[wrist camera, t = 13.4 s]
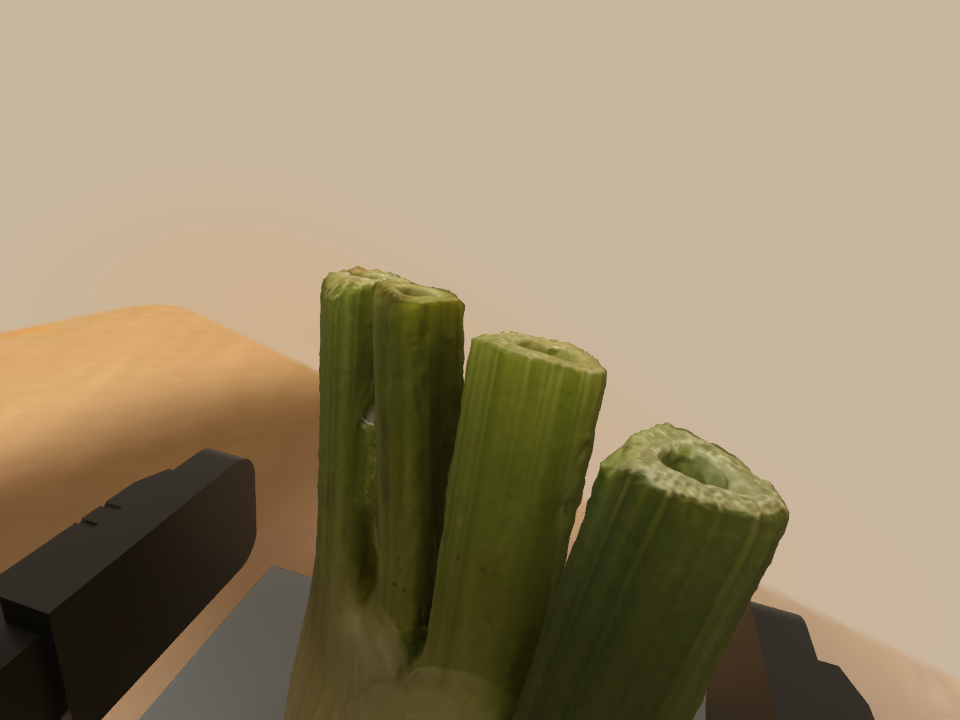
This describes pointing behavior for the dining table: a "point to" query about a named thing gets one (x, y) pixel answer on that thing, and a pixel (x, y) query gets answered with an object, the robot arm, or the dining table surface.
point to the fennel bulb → (507, 530)
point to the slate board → (248, 658)
